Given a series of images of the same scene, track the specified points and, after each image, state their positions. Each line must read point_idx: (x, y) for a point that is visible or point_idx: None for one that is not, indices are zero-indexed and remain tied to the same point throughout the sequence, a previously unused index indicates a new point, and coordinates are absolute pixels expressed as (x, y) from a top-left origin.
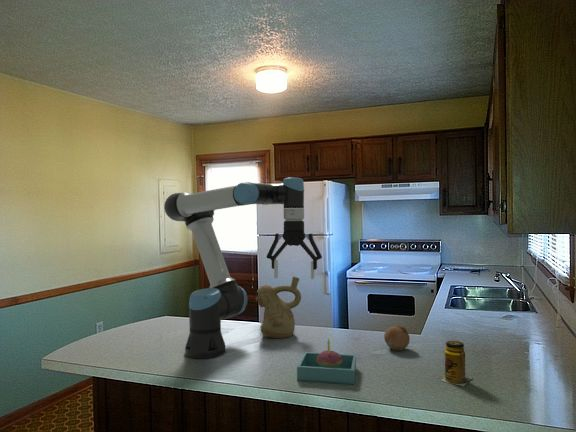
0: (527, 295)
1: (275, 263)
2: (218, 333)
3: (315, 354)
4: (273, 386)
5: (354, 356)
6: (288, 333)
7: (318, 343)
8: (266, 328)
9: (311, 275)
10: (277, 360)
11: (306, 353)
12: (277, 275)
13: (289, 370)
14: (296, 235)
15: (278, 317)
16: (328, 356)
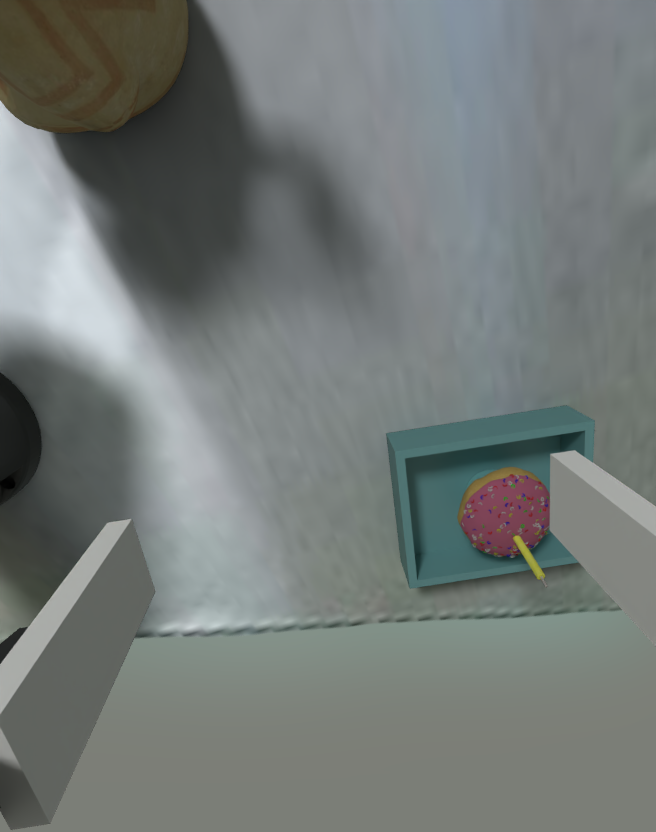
0: None
1: (64, 765)
2: None
3: (438, 452)
4: (348, 611)
5: (589, 437)
6: (178, 70)
7: (367, 128)
8: (52, 125)
9: (577, 552)
10: (273, 420)
11: (404, 460)
12: (130, 554)
13: (351, 494)
14: None
15: (103, 102)
16: (516, 551)
